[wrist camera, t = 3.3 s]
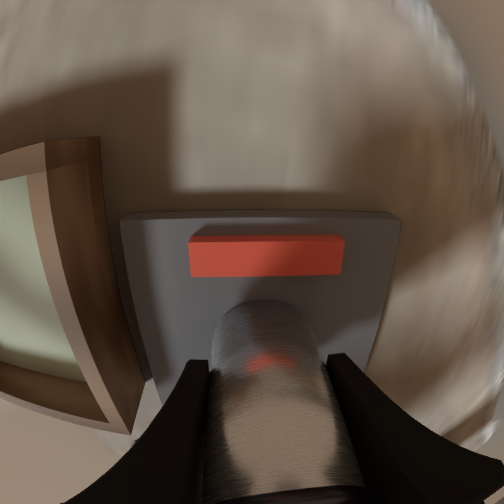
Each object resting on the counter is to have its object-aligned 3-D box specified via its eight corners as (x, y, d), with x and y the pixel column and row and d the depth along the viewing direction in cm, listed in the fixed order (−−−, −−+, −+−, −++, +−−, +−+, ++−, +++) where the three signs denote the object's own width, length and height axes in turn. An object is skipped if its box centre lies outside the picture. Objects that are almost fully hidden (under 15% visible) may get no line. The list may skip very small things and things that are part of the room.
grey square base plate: (347, 388, 14) (355, 409, 13) (166, 395, 14) (162, 418, 12) (389, 212, 10) (410, 225, 9) (128, 213, 10) (112, 226, 8)
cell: (306, 372, 12) (348, 539, 5) (216, 376, 12) (210, 553, 4) (318, 298, 10) (404, 505, 3) (209, 300, 10) (185, 534, 3)
